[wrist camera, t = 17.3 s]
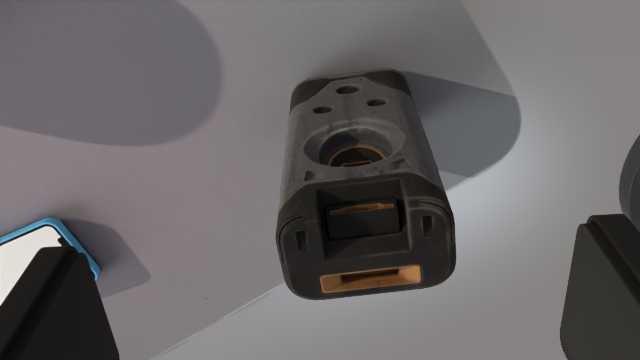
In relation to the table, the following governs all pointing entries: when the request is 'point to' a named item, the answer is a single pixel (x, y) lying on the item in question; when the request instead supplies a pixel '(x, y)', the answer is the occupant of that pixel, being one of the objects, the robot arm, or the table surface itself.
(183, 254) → the table surface
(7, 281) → the smartphone
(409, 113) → the electronic device
